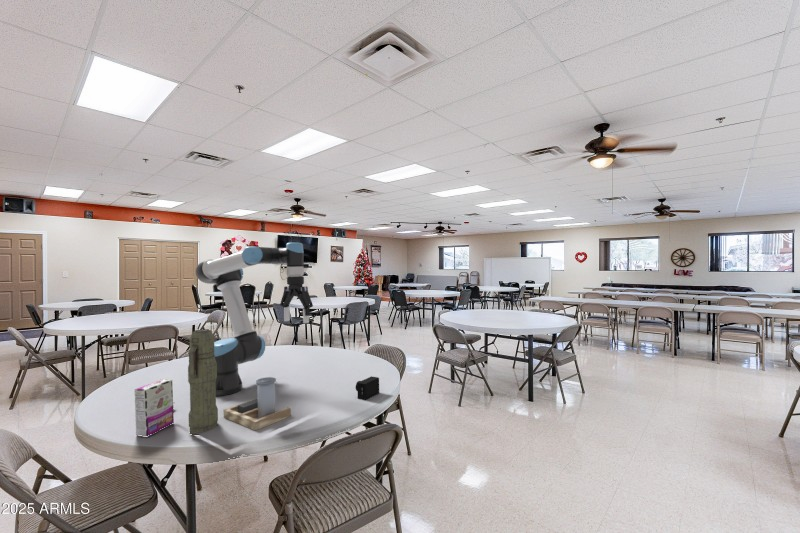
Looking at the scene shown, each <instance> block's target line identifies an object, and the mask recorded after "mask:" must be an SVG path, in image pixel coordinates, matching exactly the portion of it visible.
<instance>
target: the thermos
mask: <svg viewBox="0 0 800 533" xmlns="http://www.w3.org/2000/svg"><path fill="white" fill-rule="evenodd" d="M214 342H215V336H214V332H213V331H212V330H211V329H210V328H209V329H207V328H204V329H196V330H194V331H192V332H191V334H190V337H189V351H188V365H187V382H188V384H189V400H190V401H189V405H190V406H189V408H190V410H189V412H188V427H189V432H190V433H189V435H190V434H192V435H200V433H204V432H208V431H210V430H212V429H215V428H216V427H217V426H218V421H219V411H218V410H219V409H218V406H217V396H216V378H217V363H216V360H215V355H214V351H215V350H214ZM192 435H191V436H192Z"/></svg>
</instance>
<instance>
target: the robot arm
mask: <svg viewBox="0 0 800 533" xmlns="http://www.w3.org/2000/svg"><path fill="white" fill-rule="evenodd" d="M285 245H286V246H285V247H268V246H267V247H266V246H264V247H263V246H255V245H254V246H253V245H252V246H246V247H245V248H244V249H243V250H242V251H239V252H235V253H232V254H230V255H226V256H222V257H220V258H216V259H207V260H204V261H200V262H199V263H198V264H197V266H196V267H195V271H194V272H195V276H196V278H197V280H199V281H201V282H202V283H205V284H207V285H211V284H212V285H213V284H215V285H216V288H217V290H219V291H220V292H221V294H222V296H223V297H222V298H223V300H224V304H225V308H226V310H227V314H228V318H229V320H230V326H231V328H232V331H233V336H232V337H230V338H223V339H219V340H216V341H214V350H215V351H214V355H215V360H216V363H217V378H216V397H223V396H228V395H232V394H235V393H238V392H239V391H241V390H242V389H243V382H242V379H241V377H240V374H239V365H241V364H244V363H247V362H253V361H255V360H258V359H260V358H261V357H262V356H264V353H265V351H266V341H265V338H264V337H263V336H261V335H258V333H257V330H255V329H253V327H252V324H251V321H250V318H249V313H248V311H247V308H246V305H245V301H244V298H243V297H244V296H243V295H242V290H241V288H240V285H241V284H242V280H243V278H244V276H243V275H244V269H245V268H248V267H252V266H256V265H267V264H268V265H279V264H286V276H287V277H286V284H287V286H286V285H285V286H283V293H282V297H281V299H280V305H279V306H281V307H283V322H290V321H291V314H290V313H291V312H290V311H291V309H290V308H291V307H290V303H291V302H292V300H293V298H294V297H297V299H299V301H300V303H301V305H302V307H303V308H302V324H308V323H310V314H311V313H310V309H311V308H312V307H314V305H313V302H312V299H311V296H310V293H309V289H308V288H309V287H308V286H307V285H306V286H303V285H304V284H305V278H304V275H305V271H304V269H305V268H304V252H305V251H304V244H303V243H301V242H287V243H286V244H285Z"/></svg>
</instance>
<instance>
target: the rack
mask: <svg viewBox="0 0 800 533" xmlns="http://www.w3.org/2000/svg"><path fill="white" fill-rule="evenodd" d="M257 398H258V397H256V398H253V399H251V400H248V401H245V402H242V403H239V404H236V405H234V406H233V405H232V406H230V407H227V408H224V409H223V418H225V419H226V420H229V421H231V422H234V423H236V424H239V425H241V426H244V427H246V428H248V429H251V430H253V431H259V430H260V429H263V428H265V427H267V426H270V425H272V424H275V423H277V422H280V421H281V420H284V419H287V418H290V417H291V416H292V409H291V407H285V408H283V409H280V410H278V411H277V410H275V413H272V414H270V415H267V416H265V417H262V418H260V419H257V417H258V408H256V409H253V410H250V411H248V412H245V413H242V414H241V413H238V405H240V404H243V403H246V402H249V401H252V400H254V399H257Z"/></svg>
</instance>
